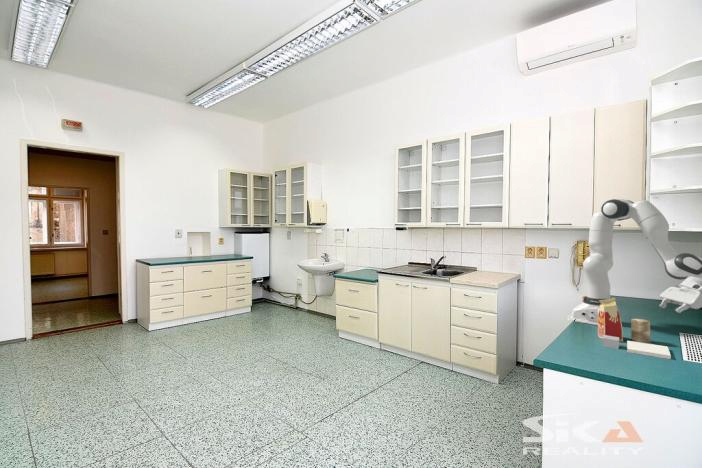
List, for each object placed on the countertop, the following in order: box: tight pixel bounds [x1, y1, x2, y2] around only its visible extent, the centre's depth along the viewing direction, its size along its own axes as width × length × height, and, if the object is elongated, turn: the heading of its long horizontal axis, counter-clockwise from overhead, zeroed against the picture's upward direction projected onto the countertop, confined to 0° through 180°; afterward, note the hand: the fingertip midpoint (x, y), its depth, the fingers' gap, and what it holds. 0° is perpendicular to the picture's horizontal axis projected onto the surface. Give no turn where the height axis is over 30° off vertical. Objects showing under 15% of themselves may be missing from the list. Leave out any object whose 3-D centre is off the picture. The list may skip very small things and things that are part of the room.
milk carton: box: [597, 297, 624, 342], centre depth 171 cm, size 9×9×20 cm
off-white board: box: [626, 340, 672, 360], centre depth 153 cm, size 14×14×2 cm
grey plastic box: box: [601, 335, 620, 350], centre depth 160 cm, size 6×6×4 cm
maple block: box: [630, 318, 651, 344], centre depth 166 cm, size 5×5×10 cm
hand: (668, 309), depth 165 cm, fingers open, 8 cm apart
